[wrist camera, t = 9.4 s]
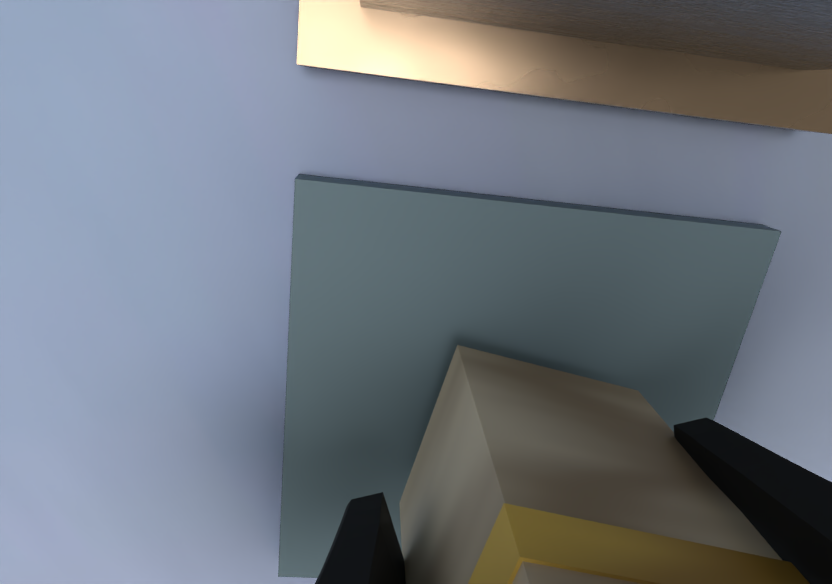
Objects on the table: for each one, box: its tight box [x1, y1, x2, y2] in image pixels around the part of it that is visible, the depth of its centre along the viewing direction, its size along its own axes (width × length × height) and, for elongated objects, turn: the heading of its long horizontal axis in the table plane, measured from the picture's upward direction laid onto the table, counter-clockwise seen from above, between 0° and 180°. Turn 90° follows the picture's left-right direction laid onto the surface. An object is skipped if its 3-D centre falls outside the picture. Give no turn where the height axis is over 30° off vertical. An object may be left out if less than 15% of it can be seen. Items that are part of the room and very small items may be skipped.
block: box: [399, 345, 810, 584], centre depth 9 cm, size 4×4×6 cm
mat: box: [278, 174, 781, 578], centre depth 13 cm, size 10×10×1 cm
